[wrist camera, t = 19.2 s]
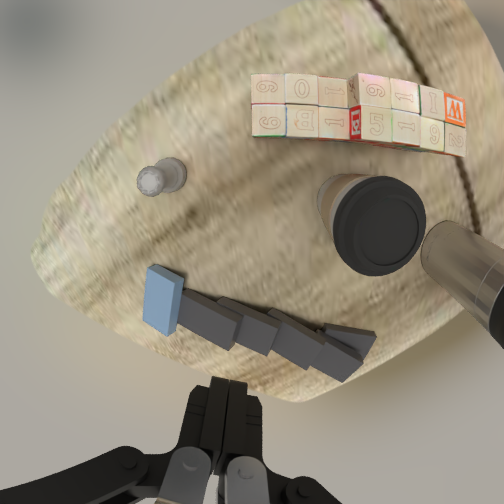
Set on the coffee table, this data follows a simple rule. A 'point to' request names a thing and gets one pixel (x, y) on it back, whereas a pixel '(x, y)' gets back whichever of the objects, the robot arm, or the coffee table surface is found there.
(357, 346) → the domino
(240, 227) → the coffee table surface
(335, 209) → the coffee cup
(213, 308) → the domino
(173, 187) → the rook chess piece
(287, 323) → the domino
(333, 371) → the domino
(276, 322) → the domino
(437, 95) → the stack of blocks
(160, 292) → the tile
